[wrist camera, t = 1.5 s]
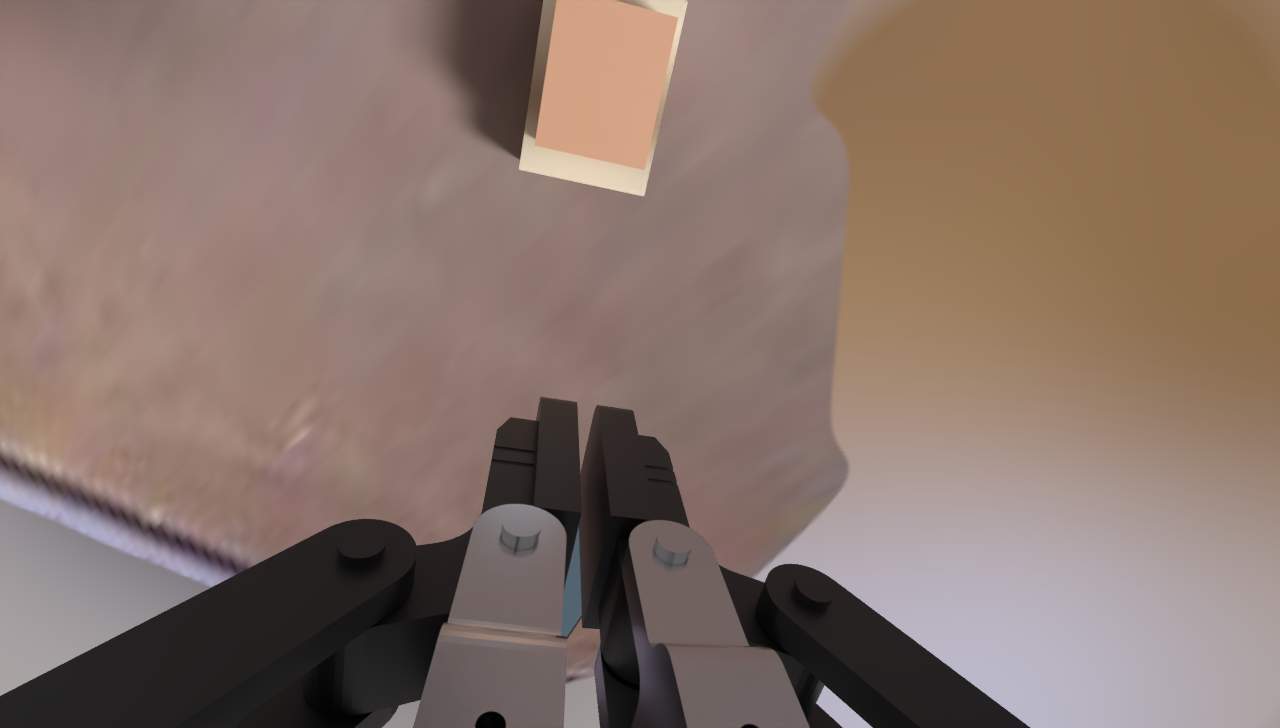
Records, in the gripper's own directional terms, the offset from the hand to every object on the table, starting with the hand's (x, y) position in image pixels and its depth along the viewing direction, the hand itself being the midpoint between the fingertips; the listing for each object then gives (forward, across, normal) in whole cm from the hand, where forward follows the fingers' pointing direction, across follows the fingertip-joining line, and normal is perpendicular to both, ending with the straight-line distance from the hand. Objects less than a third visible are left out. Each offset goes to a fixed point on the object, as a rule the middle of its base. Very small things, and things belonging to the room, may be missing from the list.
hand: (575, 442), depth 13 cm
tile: (+15, 0, -7) cm, 16 cm away
